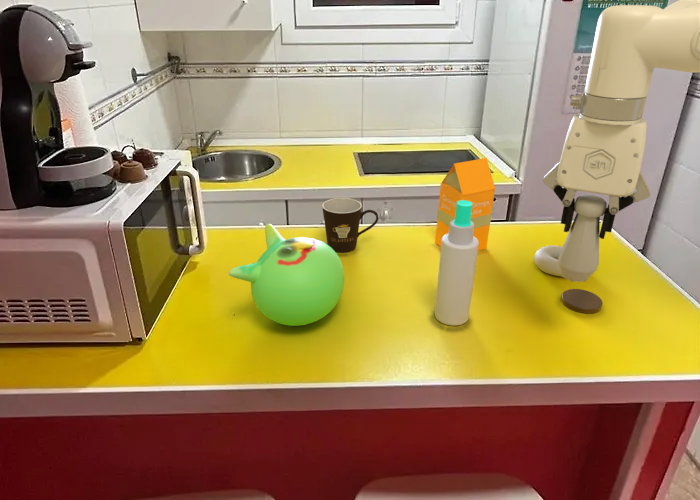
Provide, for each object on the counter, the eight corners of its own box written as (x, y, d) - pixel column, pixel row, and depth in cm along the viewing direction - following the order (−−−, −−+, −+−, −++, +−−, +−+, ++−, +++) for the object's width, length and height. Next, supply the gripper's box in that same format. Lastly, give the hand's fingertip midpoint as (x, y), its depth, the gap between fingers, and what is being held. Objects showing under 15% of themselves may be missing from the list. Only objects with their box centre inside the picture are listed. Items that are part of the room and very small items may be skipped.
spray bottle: (432, 307, 96) (443, 195, 85) (465, 308, 95) (480, 196, 85) (436, 326, 90) (448, 210, 80) (471, 327, 90) (487, 211, 80)
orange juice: (434, 242, 119) (442, 158, 110) (465, 235, 123) (475, 152, 113) (455, 257, 113) (465, 169, 104) (487, 248, 116) (499, 163, 107)
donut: (550, 283, 104) (593, 276, 106) (553, 268, 102) (597, 261, 104) (523, 259, 112) (564, 253, 114) (525, 245, 111) (567, 240, 113)
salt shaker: (581, 264, 84) (599, 189, 78) (603, 283, 79) (623, 203, 73) (548, 268, 83) (563, 192, 77) (567, 286, 78) (584, 206, 72)
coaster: (602, 299, 98) (604, 294, 98) (599, 317, 93) (600, 313, 92) (564, 289, 101) (565, 285, 101) (558, 307, 96) (559, 302, 95)
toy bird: (328, 350, 84) (326, 272, 78) (232, 335, 88) (223, 259, 81) (353, 292, 100) (354, 223, 93) (271, 281, 103) (266, 214, 97)
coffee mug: (316, 250, 115) (315, 209, 110) (332, 235, 122) (331, 195, 117) (365, 260, 111) (366, 218, 107) (378, 244, 118) (380, 203, 114)
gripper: (541, 107, 70) (521, 230, 78) (685, 120, 63) (647, 254, 71) (550, 97, 75) (531, 212, 84) (683, 108, 68) (648, 233, 77)
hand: (584, 230), depth 77 cm, fingers closed on salt shaker, 4 cm apart
